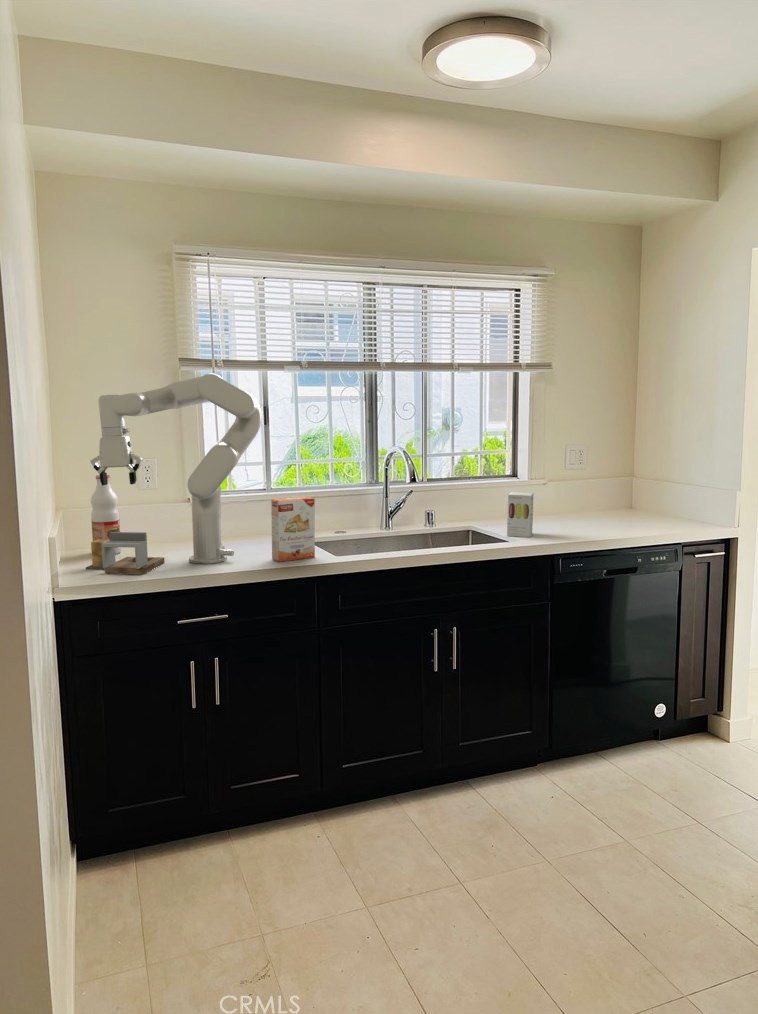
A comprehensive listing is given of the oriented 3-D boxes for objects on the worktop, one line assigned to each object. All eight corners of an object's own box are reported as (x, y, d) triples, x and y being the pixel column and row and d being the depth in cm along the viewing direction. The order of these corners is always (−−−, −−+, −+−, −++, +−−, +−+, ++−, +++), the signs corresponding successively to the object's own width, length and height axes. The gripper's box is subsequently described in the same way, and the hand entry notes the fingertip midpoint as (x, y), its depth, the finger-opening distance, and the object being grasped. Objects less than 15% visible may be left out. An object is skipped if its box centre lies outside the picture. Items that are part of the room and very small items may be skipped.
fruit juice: (98, 550, 272) (94, 474, 268) (124, 550, 272) (120, 473, 268) (89, 556, 262) (84, 476, 258) (116, 555, 262) (112, 476, 258)
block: (114, 563, 247) (112, 539, 246) (107, 566, 243) (105, 542, 241) (99, 563, 248) (98, 539, 247) (92, 566, 243) (91, 542, 242)
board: (164, 563, 250) (164, 557, 250) (144, 574, 235) (144, 567, 234) (127, 562, 252) (127, 556, 251) (105, 573, 236) (104, 567, 236)
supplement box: (506, 536, 297) (507, 494, 295) (509, 532, 306) (510, 491, 304) (530, 537, 294) (531, 495, 292) (532, 533, 303) (534, 492, 301)
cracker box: (279, 562, 251) (277, 500, 248) (271, 559, 256) (270, 498, 253) (316, 557, 258) (315, 497, 255) (307, 554, 263) (306, 495, 260)
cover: (147, 563, 239) (146, 532, 237) (138, 568, 232) (136, 536, 230) (113, 563, 240) (111, 531, 239) (102, 568, 233) (101, 535, 232)
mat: (120, 564, 249) (120, 562, 249) (109, 569, 241) (109, 567, 241) (97, 563, 250) (97, 562, 250) (85, 569, 242) (85, 567, 242)
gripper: (143, 431, 248) (148, 482, 251) (93, 433, 250) (98, 484, 252) (134, 432, 241) (139, 484, 243) (83, 434, 242) (88, 486, 245)
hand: (118, 484), depth 248 cm, fingers open, 9 cm apart
